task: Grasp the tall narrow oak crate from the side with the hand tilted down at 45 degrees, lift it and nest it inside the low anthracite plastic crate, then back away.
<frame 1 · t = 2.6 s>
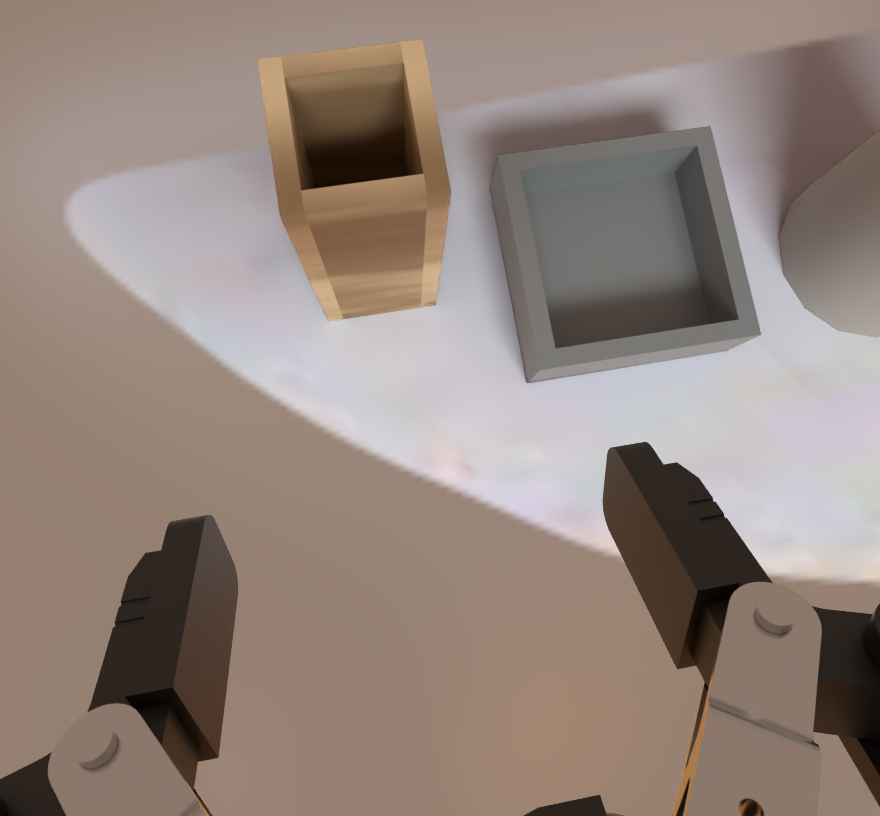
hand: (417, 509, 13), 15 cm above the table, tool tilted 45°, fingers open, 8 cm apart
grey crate: (606, 268, 30), on the table
cup: (859, 254, 31), on the table
oak crate: (373, 261, 30), on the table
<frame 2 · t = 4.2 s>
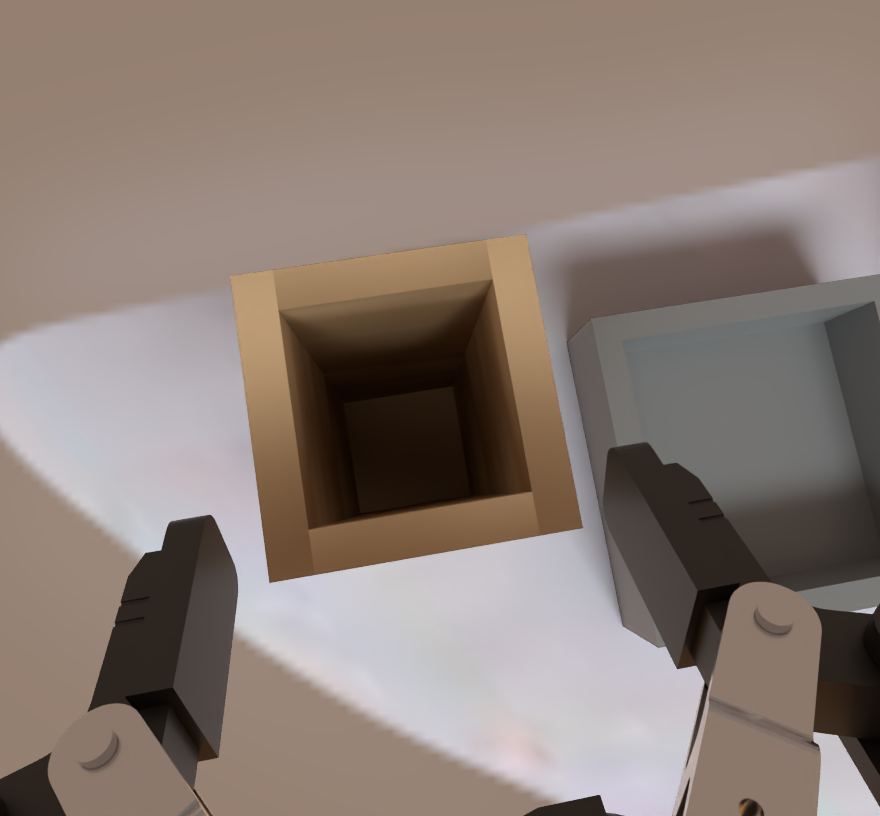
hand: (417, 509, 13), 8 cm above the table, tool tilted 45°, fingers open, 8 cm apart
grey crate: (730, 457, 22), on the table
oak crate: (407, 450, 21), on the table
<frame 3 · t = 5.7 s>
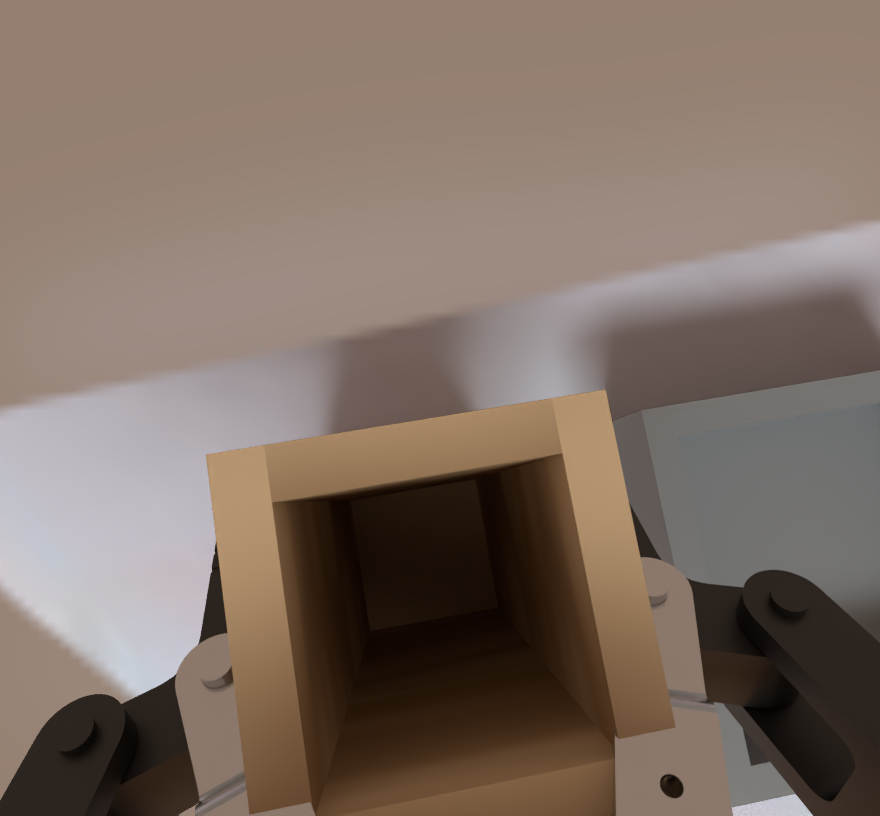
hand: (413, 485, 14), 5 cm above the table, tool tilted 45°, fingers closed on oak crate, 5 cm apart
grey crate: (793, 555, 19), on the table
oak crate: (423, 551, 18), on the table, touching gripper
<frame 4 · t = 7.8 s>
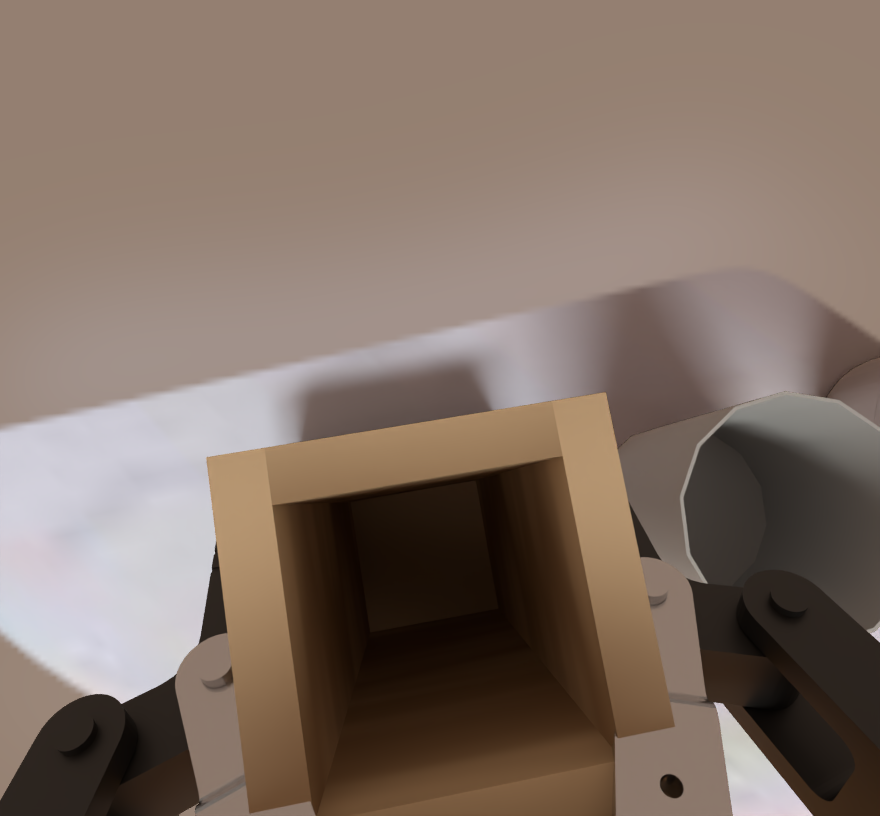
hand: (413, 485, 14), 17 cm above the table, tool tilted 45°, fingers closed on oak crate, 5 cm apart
cup: (675, 511, 31), on the table
oak crate: (423, 553, 18), point 12 cm above the table, touching gripper
when the fingers open (7 cm above the table, at t = 10.2 s): oak crate stays where it is, resting on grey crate.
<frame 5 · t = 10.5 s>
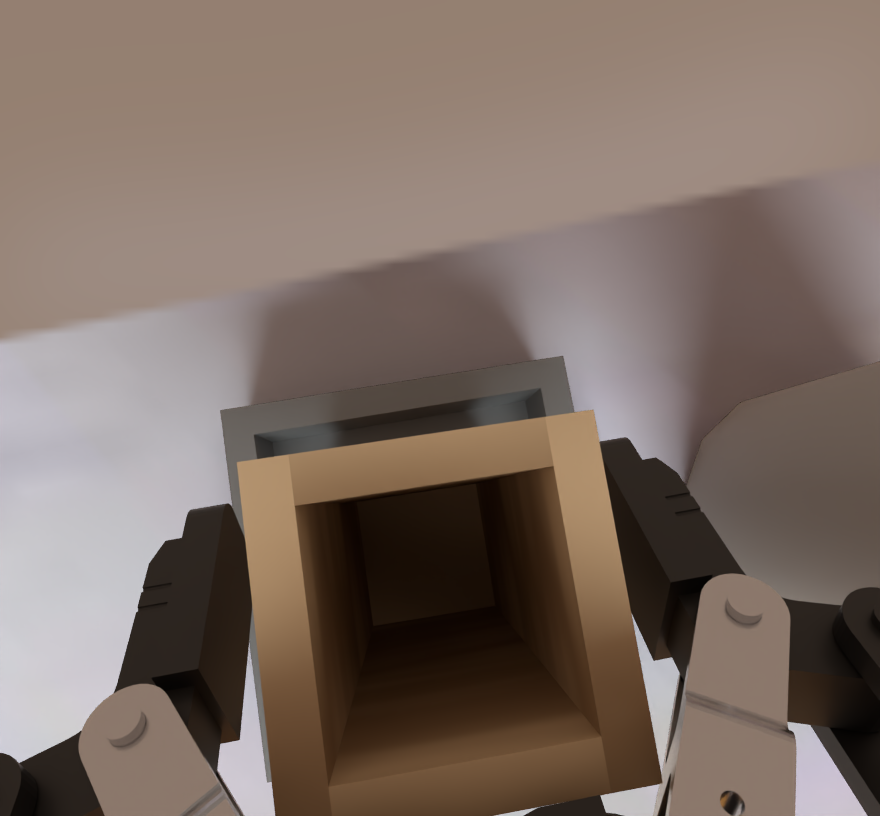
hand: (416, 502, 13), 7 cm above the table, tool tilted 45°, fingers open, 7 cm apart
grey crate: (421, 548, 20), on the table
cup: (806, 513, 21), on the table
oak crate: (425, 551, 19), point 1 cm above the table, touching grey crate
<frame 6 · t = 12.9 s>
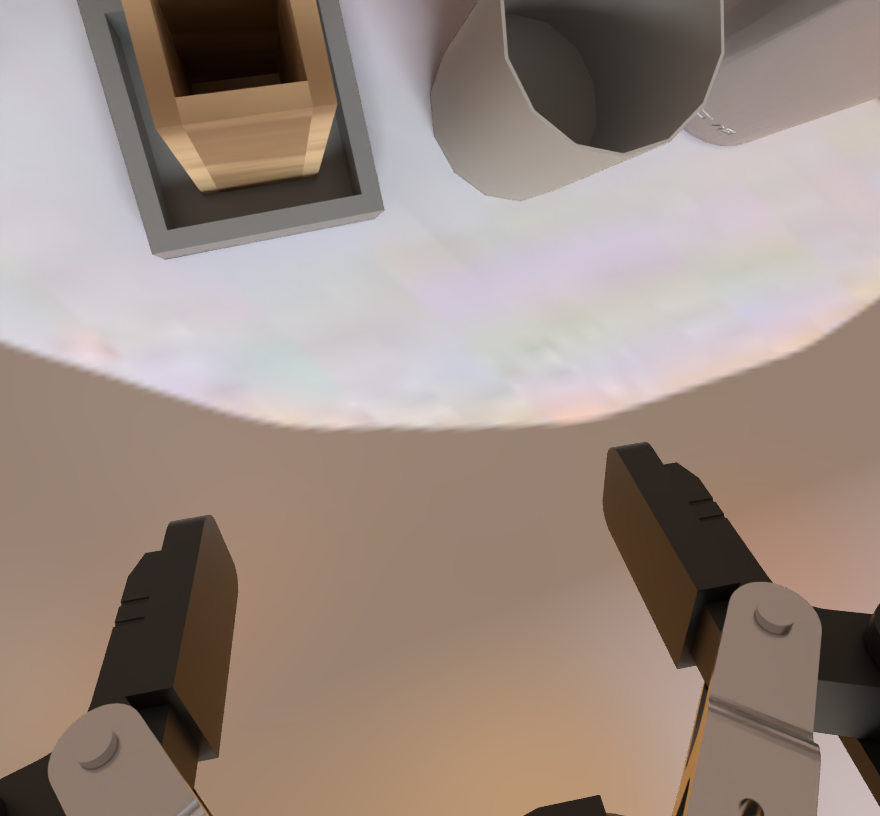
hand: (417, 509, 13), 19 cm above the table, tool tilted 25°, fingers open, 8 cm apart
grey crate: (245, 129, 28), on the table
cup: (512, 112, 31), on the table
oak crate: (247, 127, 28), point 1 cm above the table, touching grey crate
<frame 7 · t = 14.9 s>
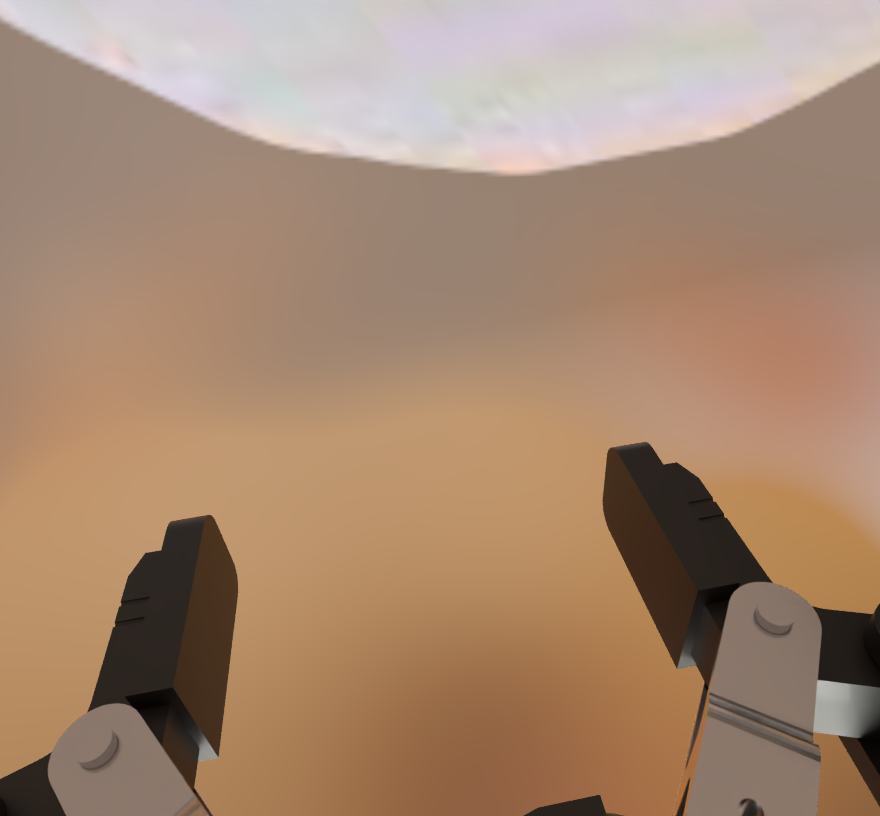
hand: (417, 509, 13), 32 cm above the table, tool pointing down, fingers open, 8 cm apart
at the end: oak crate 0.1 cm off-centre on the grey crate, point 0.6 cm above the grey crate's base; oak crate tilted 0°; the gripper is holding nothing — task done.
